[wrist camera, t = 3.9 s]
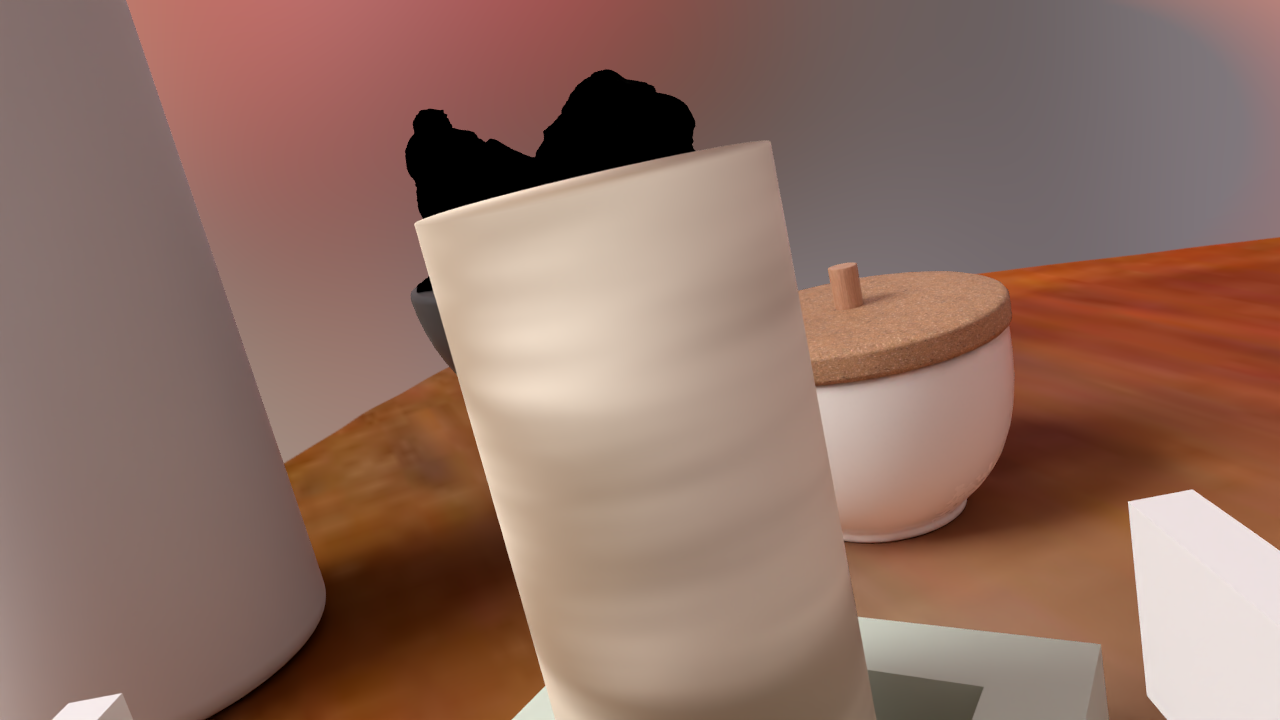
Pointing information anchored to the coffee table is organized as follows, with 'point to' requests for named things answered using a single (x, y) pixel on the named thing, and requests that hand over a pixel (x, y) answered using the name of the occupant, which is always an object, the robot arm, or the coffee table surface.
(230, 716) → the coffee table surface
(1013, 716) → the hollow square frame
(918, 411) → the lidded jar
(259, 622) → the cylinder vase
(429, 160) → the coal bowl
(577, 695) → the ash peg
